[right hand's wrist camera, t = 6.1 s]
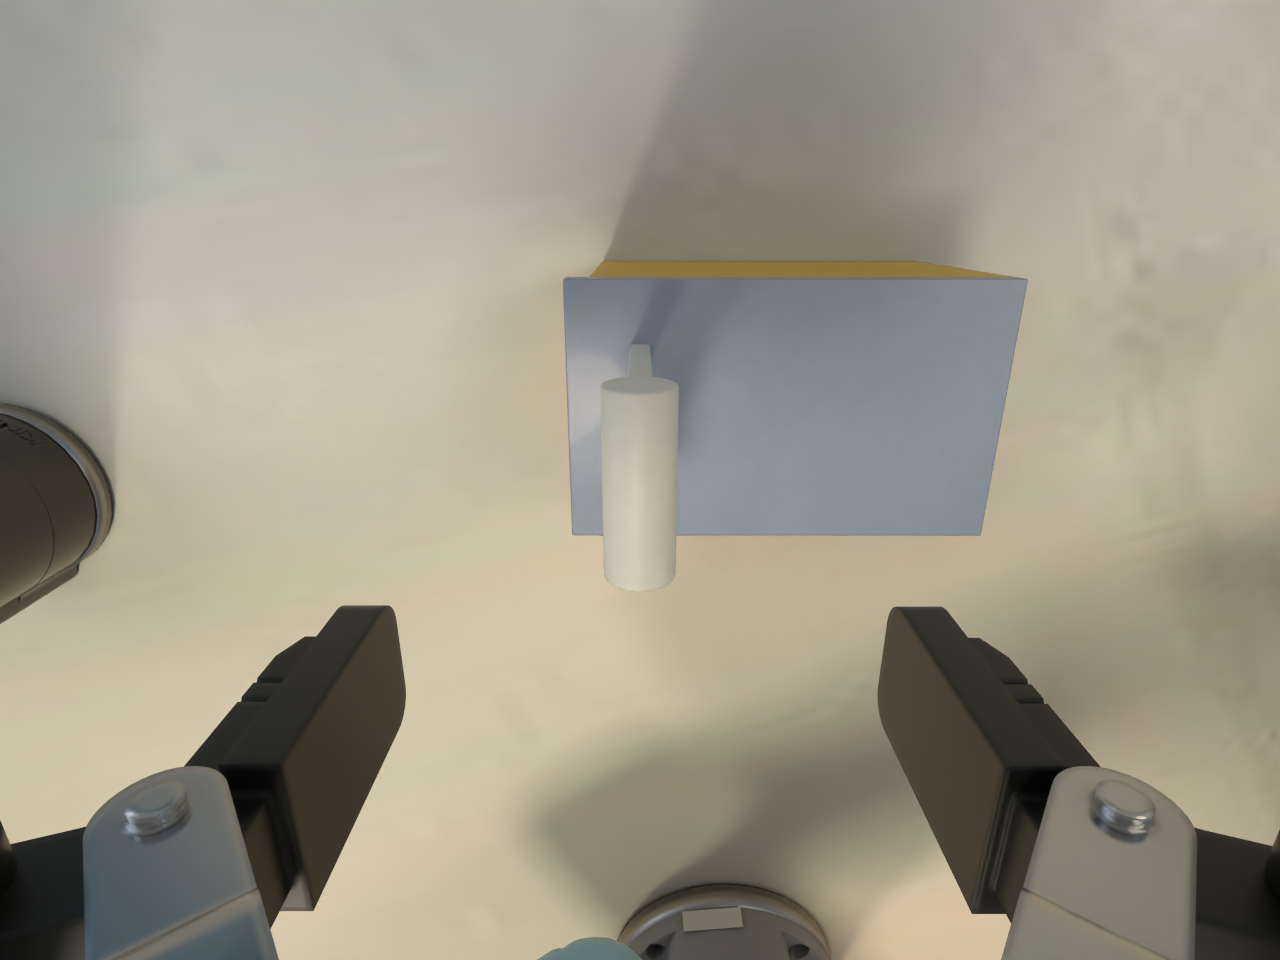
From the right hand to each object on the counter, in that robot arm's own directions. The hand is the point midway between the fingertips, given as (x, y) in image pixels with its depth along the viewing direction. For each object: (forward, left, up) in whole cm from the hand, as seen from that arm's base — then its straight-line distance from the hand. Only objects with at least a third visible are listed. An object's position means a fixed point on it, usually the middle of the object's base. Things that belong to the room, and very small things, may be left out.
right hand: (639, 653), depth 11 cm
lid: (+2, -5, -16) cm, 17 cm away
